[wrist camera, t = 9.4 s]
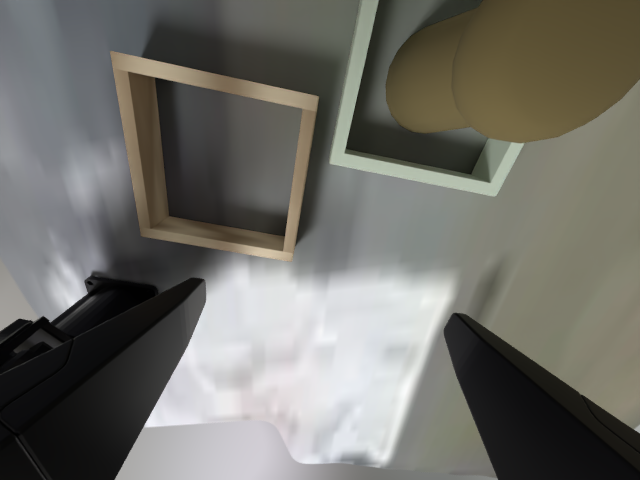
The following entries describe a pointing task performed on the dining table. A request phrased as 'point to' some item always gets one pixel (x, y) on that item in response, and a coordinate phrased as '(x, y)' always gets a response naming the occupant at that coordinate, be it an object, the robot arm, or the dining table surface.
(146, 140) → the bin
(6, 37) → the dining table surface
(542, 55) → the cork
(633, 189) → the dining table surface
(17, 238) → the dining table surface
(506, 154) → the bin
